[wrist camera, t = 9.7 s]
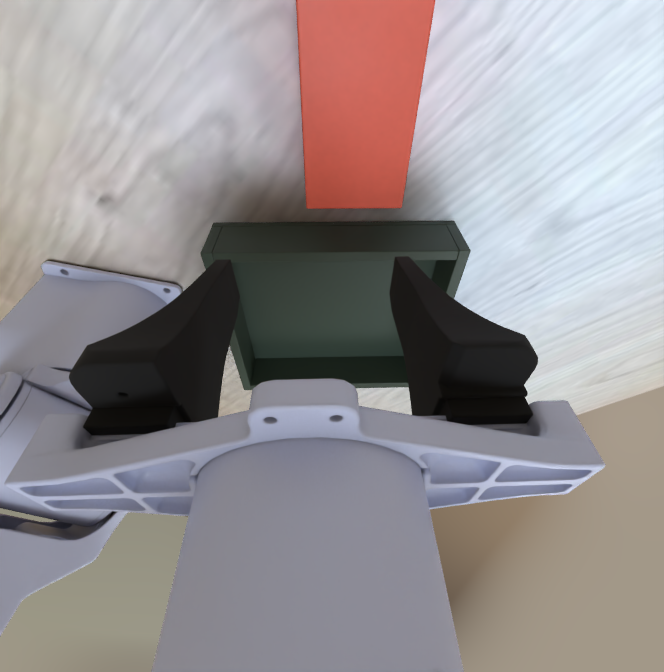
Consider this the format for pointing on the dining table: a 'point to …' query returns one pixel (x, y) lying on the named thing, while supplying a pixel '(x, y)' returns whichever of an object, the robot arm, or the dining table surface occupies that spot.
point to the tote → (327, 295)
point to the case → (360, 97)
